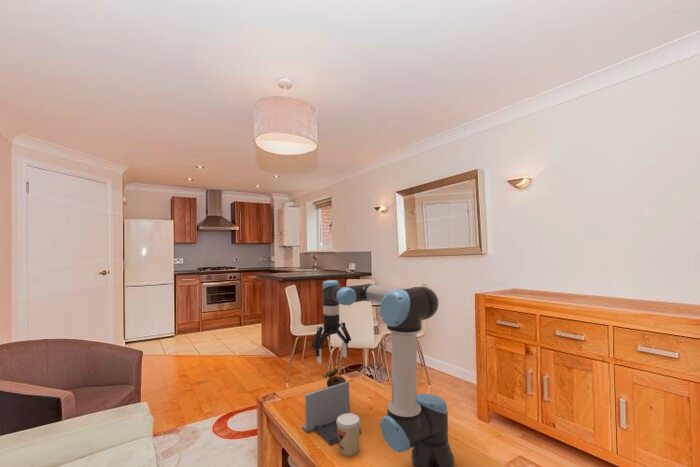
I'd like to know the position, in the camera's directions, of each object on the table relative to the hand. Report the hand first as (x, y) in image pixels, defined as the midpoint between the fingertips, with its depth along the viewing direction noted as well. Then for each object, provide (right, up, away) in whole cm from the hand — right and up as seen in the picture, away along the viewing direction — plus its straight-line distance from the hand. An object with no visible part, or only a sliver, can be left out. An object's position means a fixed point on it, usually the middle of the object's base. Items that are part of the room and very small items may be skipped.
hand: (332, 359), depth 156 cm
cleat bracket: (+2, -27, -11) cm, 29 cm away
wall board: (-2, -27, -4) cm, 27 cm away
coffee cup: (+8, -26, -24) cm, 37 cm away
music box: (+2, -27, +10) cm, 29 cm away
